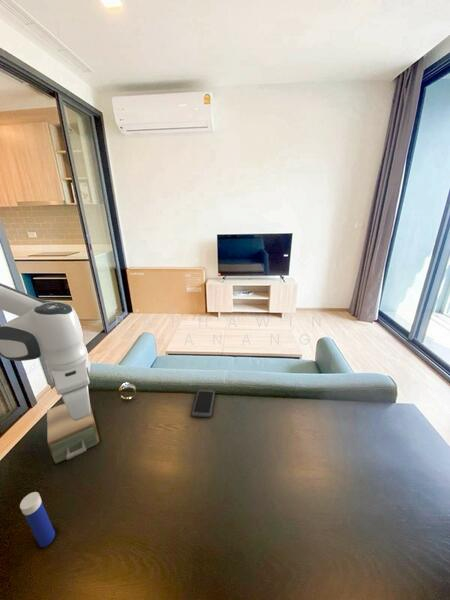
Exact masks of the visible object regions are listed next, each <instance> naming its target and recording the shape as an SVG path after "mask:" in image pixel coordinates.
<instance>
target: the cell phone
mask: <svg viewBox="0 0 450 600" xmlns="http://www.w3.org/2000/svg"><path fill="white" fill-rule="evenodd" d="M215 394H216V391H215V390H213V389H198V390H197V392H196V396H195V400H194V403H193V407H192V409H191V417H194V418H210V417H211V416H212V412H213V406H214V400H215Z"/></svg>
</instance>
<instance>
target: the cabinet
mask: <svg viewBox="0 0 450 600" xmlns="http://www.w3.org/2000/svg"><path fill="white" fill-rule="evenodd" d="M90 409H91V412H90V415H89V416H86V417H84V418H82V419H79V420H77V421H74V420H73V419H72V418H71V416H70V414H69V412H68V410H67V408H66V405H65V403H63V404H59V405H57V406H54V407H52V408H49V409H46V432H47V433H46V434H47V435H46V437H47V438H46V439H47V446H48V448H49V452H50V454H51V457H52V459H53V461H54V462H53V463H54V464H57V463H56V460H55V457H54V455H53V452H52V449H51V444H53V443H54V442H56V441H58V440H61V439H63V438H65V437H68V436H70V435H72V434H74V433H77V432H79V431H81V430H83V429H86V428H88V427H90V426H93V428H94V431H95V435H96V439H97V443H98V444H99V443H100V438H99V433H98V430H97V425H96V421H95V417H94V412H93V409H92V405H91V404H90Z"/></svg>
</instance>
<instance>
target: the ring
mask: <svg viewBox="0 0 450 600" xmlns="http://www.w3.org/2000/svg"><path fill="white" fill-rule="evenodd" d="M126 389H131V390H133V392H134V393H133V395H131V396H128V397H124V396H123V395H122V394H121V392H122V391H124V390H126ZM136 395H137V387H136V386H135V385H134V384H132V383H130V382H124V383H123V384H121V385H120V386H119V388H118V390H117V397H118V398H119V399H120V400H123V401H131V400H133V399H134V398H135V397H136Z"/></svg>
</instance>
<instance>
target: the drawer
mask: <svg viewBox="0 0 450 600" xmlns="http://www.w3.org/2000/svg"><path fill="white" fill-rule="evenodd" d="M98 444H99V443H97V439H96V435H95V431H94V428H93V426H90V427H88V428H86V429H83V430H81V431H79V432H77V433H74V434H72V435H70V436H68V437H65V438H63V439H61V440H58V441H56V442H54V443H53V444H51V449H52V452H53V455H54V457H55V460H56V463H55V464H58V463H61V462H63V461H65V460H67V461H69V460H70V459H73V458H75V457H77V456H79V455H81V454H83V453H85V452H87V450H88V449H90V448H92V447H94V446H96V445H98Z"/></svg>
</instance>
